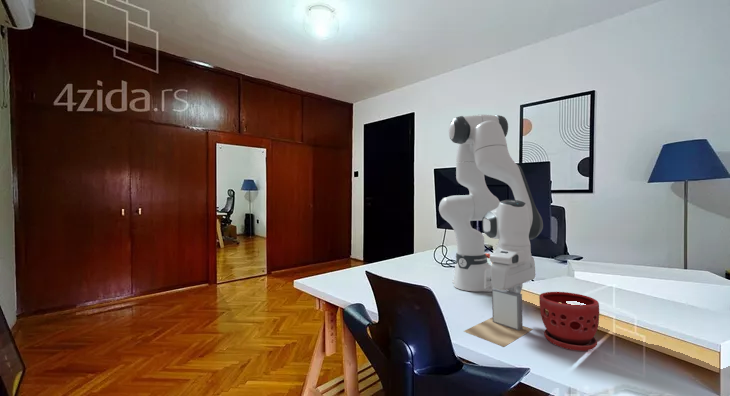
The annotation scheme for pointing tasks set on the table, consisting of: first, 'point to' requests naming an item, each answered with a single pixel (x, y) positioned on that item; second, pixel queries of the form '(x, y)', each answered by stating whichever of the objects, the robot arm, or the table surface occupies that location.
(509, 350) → the table surface
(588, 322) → the plant pot
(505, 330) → the cork mat
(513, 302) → the tile
